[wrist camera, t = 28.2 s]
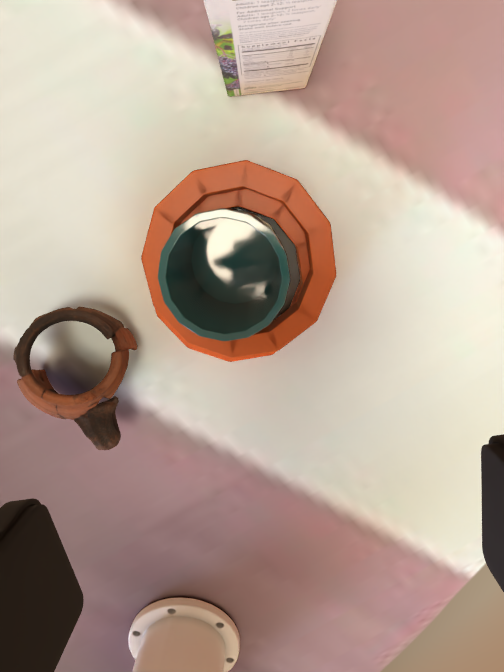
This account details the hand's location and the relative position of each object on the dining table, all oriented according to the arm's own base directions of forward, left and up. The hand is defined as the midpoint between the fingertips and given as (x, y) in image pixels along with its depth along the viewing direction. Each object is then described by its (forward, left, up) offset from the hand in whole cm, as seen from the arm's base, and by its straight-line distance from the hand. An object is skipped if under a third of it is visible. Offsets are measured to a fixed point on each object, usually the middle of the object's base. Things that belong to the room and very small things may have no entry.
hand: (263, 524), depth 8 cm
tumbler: (+3, +2, -25) cm, 26 cm away
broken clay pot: (-4, +16, -26) cm, 30 cm away
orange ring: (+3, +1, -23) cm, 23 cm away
